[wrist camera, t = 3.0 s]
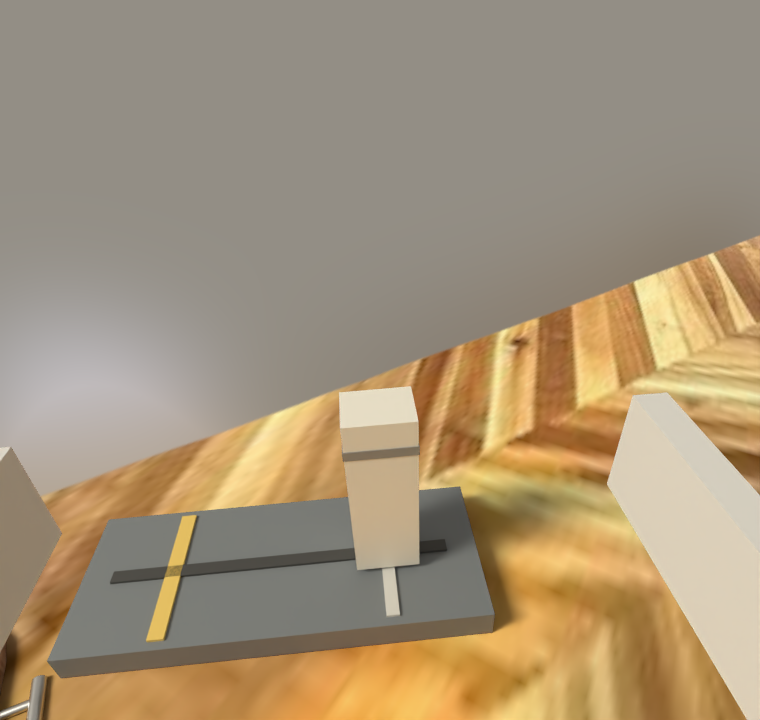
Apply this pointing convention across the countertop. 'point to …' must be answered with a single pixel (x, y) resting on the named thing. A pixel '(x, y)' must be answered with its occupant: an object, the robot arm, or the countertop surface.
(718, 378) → the countertop surface
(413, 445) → the fader knob
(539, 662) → the countertop surface
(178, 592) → the fader console
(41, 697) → the chopping board
